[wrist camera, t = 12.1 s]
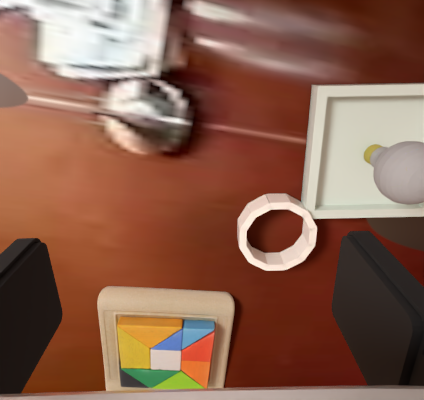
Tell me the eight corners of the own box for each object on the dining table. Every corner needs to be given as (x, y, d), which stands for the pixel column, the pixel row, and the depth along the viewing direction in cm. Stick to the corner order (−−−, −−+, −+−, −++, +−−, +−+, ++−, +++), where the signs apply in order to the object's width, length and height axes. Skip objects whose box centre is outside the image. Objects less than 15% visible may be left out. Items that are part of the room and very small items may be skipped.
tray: (311, 84, 33) (318, 86, 32) (450, 82, 33) (464, 83, 32) (300, 211, 39) (304, 218, 37) (419, 208, 39) (430, 216, 37)
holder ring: (237, 194, 38) (240, 203, 35) (313, 192, 38) (320, 201, 35) (237, 259, 41) (238, 271, 39) (306, 257, 41) (312, 269, 39)
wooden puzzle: (107, 385, 50) (100, 408, 47) (100, 282, 43) (91, 300, 40) (222, 390, 51) (223, 413, 48) (234, 289, 44) (237, 308, 40)
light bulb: (405, 133, 35) (477, 159, 26) (383, 181, 37) (441, 221, 28) (357, 120, 34) (413, 142, 25) (337, 169, 36) (381, 206, 27)
